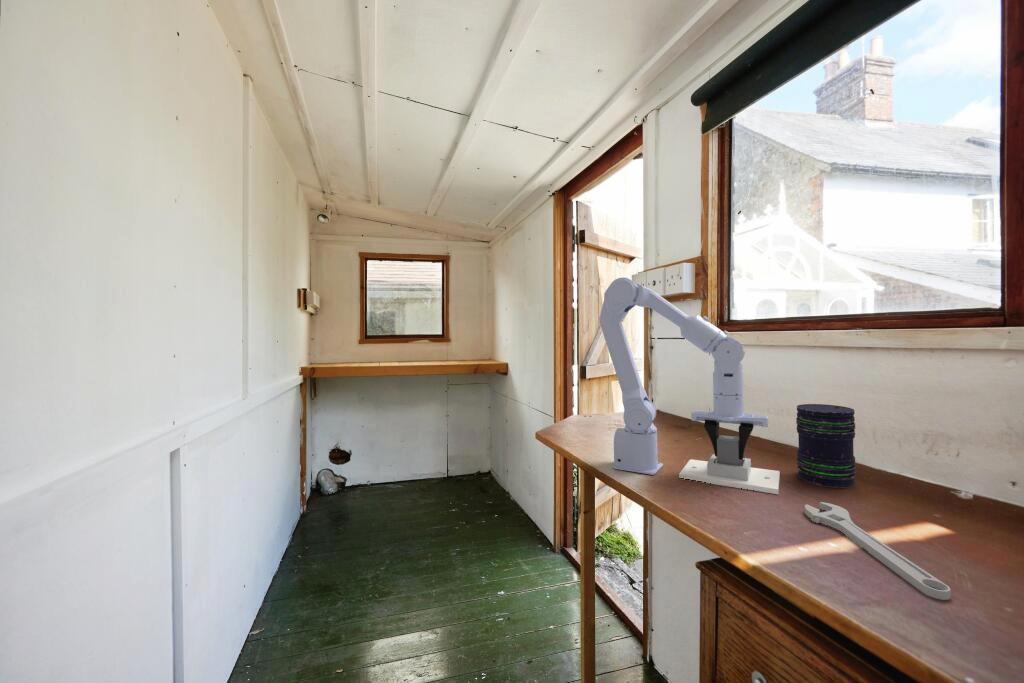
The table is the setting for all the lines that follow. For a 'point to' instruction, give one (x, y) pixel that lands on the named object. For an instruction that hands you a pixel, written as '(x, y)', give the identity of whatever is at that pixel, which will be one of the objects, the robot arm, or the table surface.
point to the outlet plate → (732, 475)
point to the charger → (728, 450)
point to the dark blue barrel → (826, 445)
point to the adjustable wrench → (879, 550)
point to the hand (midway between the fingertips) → (729, 456)
